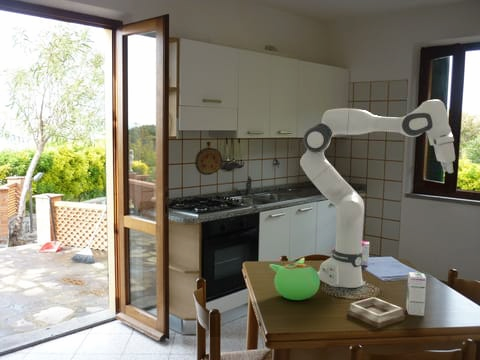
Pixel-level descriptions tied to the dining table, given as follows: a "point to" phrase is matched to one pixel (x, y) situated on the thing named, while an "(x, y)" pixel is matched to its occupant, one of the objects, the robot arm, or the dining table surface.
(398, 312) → the socket stand
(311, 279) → the toy bird
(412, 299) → the syrup box
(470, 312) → the dining table surface
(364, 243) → the supplement box
